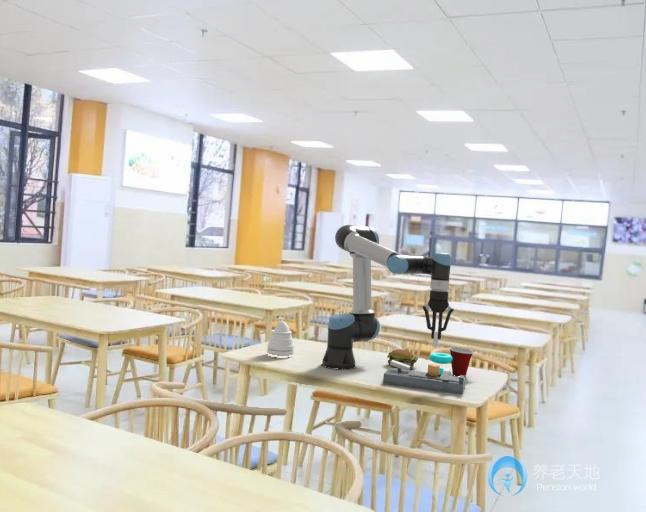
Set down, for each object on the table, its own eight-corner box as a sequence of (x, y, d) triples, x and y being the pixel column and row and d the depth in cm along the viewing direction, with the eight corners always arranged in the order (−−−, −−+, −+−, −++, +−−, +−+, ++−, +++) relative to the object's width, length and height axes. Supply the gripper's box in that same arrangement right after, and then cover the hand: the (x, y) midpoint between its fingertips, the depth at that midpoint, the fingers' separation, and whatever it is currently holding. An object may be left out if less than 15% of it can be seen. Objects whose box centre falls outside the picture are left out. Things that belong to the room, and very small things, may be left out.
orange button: (426, 377, 248) (427, 365, 248) (428, 375, 252) (428, 363, 252) (438, 378, 246) (439, 367, 246) (439, 376, 251) (440, 365, 251)
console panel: (383, 383, 246) (384, 367, 246) (389, 376, 259) (390, 362, 258) (462, 394, 237) (463, 378, 236) (465, 386, 249) (466, 371, 249)
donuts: (429, 355, 260) (430, 351, 270) (427, 378, 261) (428, 373, 271) (452, 357, 258) (452, 353, 268) (450, 380, 259) (451, 375, 268)
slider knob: (442, 379, 240) (443, 370, 240) (443, 377, 244) (444, 368, 244) (448, 380, 239) (449, 371, 239) (449, 378, 243) (450, 369, 243)
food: (422, 369, 278) (423, 352, 277) (395, 370, 273) (396, 352, 273) (408, 362, 291) (409, 346, 290) (381, 363, 286) (383, 346, 285)
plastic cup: (472, 379, 263) (474, 352, 263) (447, 376, 265) (449, 350, 265) (471, 374, 274) (473, 348, 274) (447, 371, 276) (449, 345, 276)
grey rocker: (390, 364, 253) (391, 361, 253) (391, 363, 257) (392, 359, 256) (408, 370, 251) (409, 367, 251) (409, 369, 254) (410, 365, 254)
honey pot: (263, 353, 292) (265, 316, 291) (287, 352, 297) (290, 316, 296) (272, 358, 280) (274, 320, 279) (297, 358, 285) (300, 320, 285)
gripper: (422, 289, 246) (418, 346, 247) (454, 292, 242) (450, 350, 243) (424, 288, 253) (421, 343, 254) (456, 291, 249) (452, 347, 250)
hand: (435, 346), depth 249 cm, fingers closed
